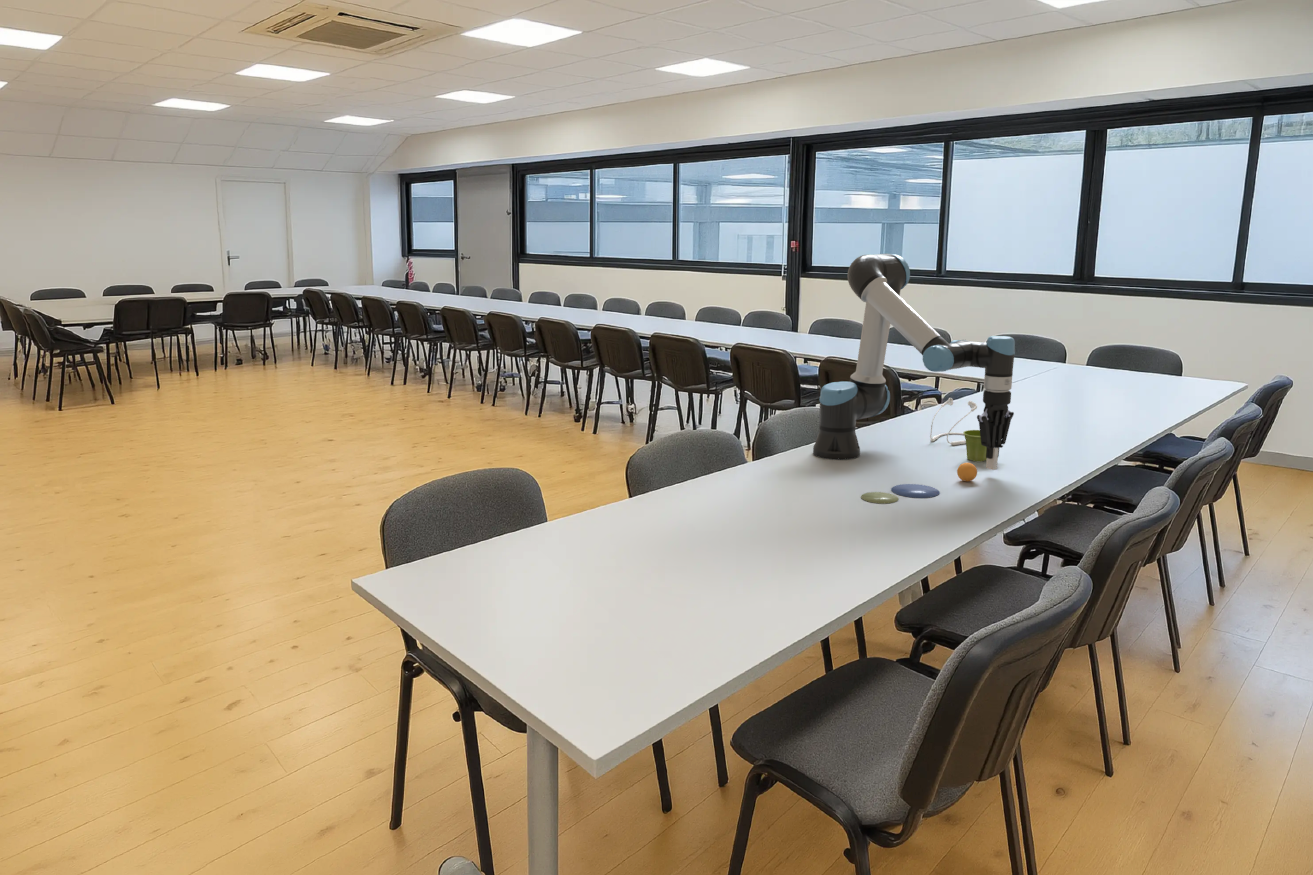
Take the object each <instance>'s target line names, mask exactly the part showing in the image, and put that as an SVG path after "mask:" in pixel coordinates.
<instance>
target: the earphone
mask: <svg viewBox="0 0 1313 875" xmlns="http://www.w3.org/2000/svg"><path fill="white" fill-rule="evenodd" d="M953 404H954V399H953V398H952V397H949V398H948V399H947V400H946V401H944V402H943V403H942V404H941V406H940V407H939V408H938V410H937V411H936V413H935V414H934V416H933V418H932V421H931V425H930V433H929V434H930V436H929V437H930V439H929V440H930V442H931V443H932V442H935V441H937V439H939V438H940V437H943V436H946V441H947V443H949V444H950V445H951V446H958V445H960V444H961V445H966V439H965V440H963V439H962V440H955V441H954V440H953V441H951V442H950V441H949V436H950V435H956V434H957V435H958V436H959V435H960V436H965V435H964V434H963V432H954V431H953V432H952V429H954V428H955V426H957V425H958V424H960V422H961V421H962V420H963V419H965V418H966V417H967V416H968V415H970V413H972V412H974V411H975V410H977V409H978V405H977V403H976V402H975V401H974V402H973V401H972V400H969V401H968V402H967V406H969V408H970V411H969V412H968V413H967V414H966V415H964V416H963V417H962V418H960V420H958V421H957V422H956V423H955V424H954V425H953V426H952V427H951V428H950V429H949V431H948V432H943V433H940V434H938V435H937V434H935V435H934V436H932V432H933V423H934V420H935V417H936V416H937V414H938V412H939V411H940V410H941V409H942V408H944V407H945V406H946V405H949V406H951V407H952V406H953ZM949 434H950V435H949Z"/></svg>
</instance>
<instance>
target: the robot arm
mask: <svg viewBox="0 0 1313 875" xmlns="http://www.w3.org/2000/svg"><path fill="white" fill-rule="evenodd" d="M910 279H911V270H910V266H909V264H908V263H907V261H906V259H905V258H903V257H902V256H901V255H899V254H895V253H878V254H863V255H860V256H858V257H856V258H855V259H854V260H853V261H852V262H851V263H850V265H849V266H848V270H847V282H848V285H849V287H850V289H851V290H852V292H853V293H854V294H855V295H856V296H857V297H858V298H859V299H860V300H861V301H862V302H863V303H865V308H864V314H863V321H862V328H861V336H860V341H859V342H860V343H859V348H858V353H857V354H858V355H857V360H856V361H857V362H856V368H855V371H854V372H853V373H852V374H850V377H849V381H842V380H841V381H834V382H829V383H827V384H824V385H823V386H822V387H821V388H820V396H819V422H818V423H819V424H818V425H819V426H818V427H819V428H818V433H817V436H816V440H815V442H814V444H813V447H812V448H813V449H812V455H814V456H815V457H818V458H821V459H827V460H836V461H837V460H840V461H841V460H852V459H856V458H859V457H860V456H861V447H860V444H859V440H858V437H857V433H856V425H857V424H856V422H857V421H858V420H862V419H867V418H872V417H876V416H878V415H880V414H882V413H883V412H884V411H886V409H888V406H889V404H890V401H891V393H890V390H889V388H888V386H887V384H886V382H887V380H886V378H885V376H884V375H883V372H884V366H885V360H886V354H887V353H886V351H887V347H888V340H889V333H890V328H891V327H890V326H892V327H893V328H894V329H895V330H897V332H898V333H899V334H901V335H902V337H904V338H905V340H906V341H908V343H910V345H912V346H913V348H915V349H916V350H917V351H918V352H919V354H921V355H922V363H923V365H924V367H925V369H927V371H930V372H935V373H939V372H946V371H950V370H955V369H961V368H966V367H967V368H968V367H971V368H980V369H984V381H983V388H984V390H983V395H982V402H983V403H984V408H983V412H982V413H981V414H977V415H976V419H977V421H978V427H979V430H980V437H981V445H983V446H985V447H986V448H987V449H986V458H987V461H986V463H985V469H989V470H993V471H995V470H997V469H998V462H999V461H998V459H999V457H1000V448H1001V449H1003V447H1004V445H1005V444H1006V442H1007V437H1008V434H1009V430H1010V425H1011V422H1012V419H1013V417H1014V415H1015V413H1014V411H1010V410H1009V405H1010V404H1011V403H1012V402H1011V400H1012V392H1011V390H1012V387H1013V385H1012V384H1013V383H1012V382H1013V376H1014V375H1013V372H1014V371H1013V370H1014V364H1015V363H1014V362H1015V360H1014V359H1015V355H1016V351H1015V350H1016V349H1015V348H1016V346H1015V345H1016V341H1015V338H1013V337H1012V336H1007V335H991V336H988V337H987V340H986V342H983V341H973V340H966V339H954V340H952V341H950V343H949V342H948V341H947V340H946V339H945V338H943V336H942V335H940V334H939V333H938V332H937V330H935V329H934V328H933V327H932V326H931V324H929V323H928V322H927V321H926V320H925V319H924V318H923V317H922V316H921V315H920V314H918V312H917V311H916V310H914V309H913V307H912V306H910V305H909V304H908V303H907V302H906V300H904V299H903V298H902V297H901V290H902V289H904V288H905V287H906V286H907V285H908V284H909V281H910Z"/></svg>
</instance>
